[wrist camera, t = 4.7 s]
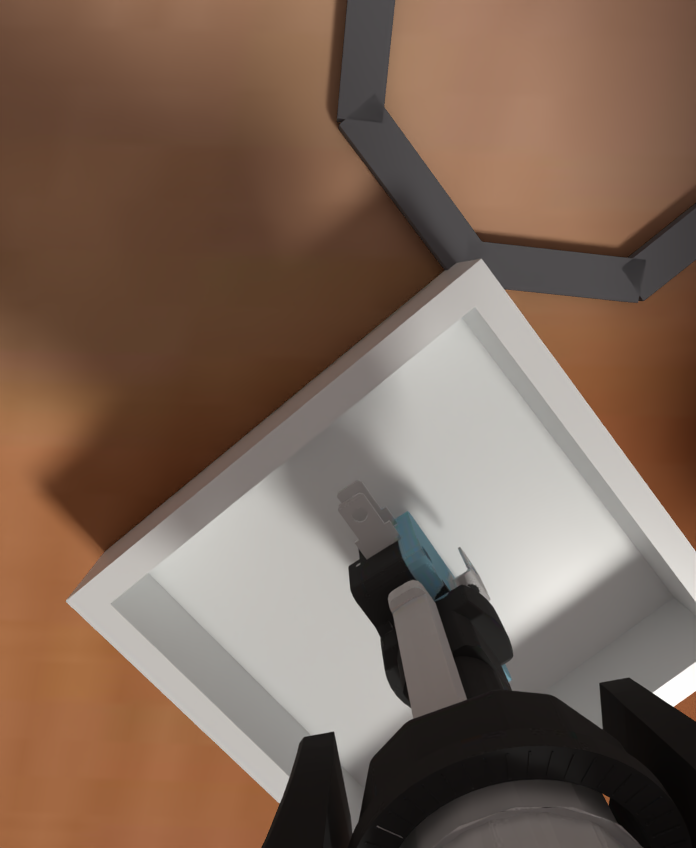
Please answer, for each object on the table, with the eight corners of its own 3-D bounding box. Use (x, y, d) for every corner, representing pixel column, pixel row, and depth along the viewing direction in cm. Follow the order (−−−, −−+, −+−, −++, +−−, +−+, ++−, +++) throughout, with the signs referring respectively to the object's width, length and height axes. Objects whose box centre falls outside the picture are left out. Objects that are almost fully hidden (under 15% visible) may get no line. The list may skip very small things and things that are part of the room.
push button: (270, 527, 17) (205, 874, 8) (430, 425, 17) (580, 660, 7) (396, 689, 19) (473, 1143, 9) (545, 601, 18) (796, 989, 9)
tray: (697, 591, 20) (762, 643, 17) (379, 823, 21) (389, 907, 19) (453, 263, 17) (481, 258, 14) (104, 551, 19) (65, 601, 16)
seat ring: (901, 90, 17) (915, 86, 17) (530, 384, 18) (535, 386, 18) (656, -381, 14) (666, -399, 14) (242, 0, 16) (240, -8, 15)
